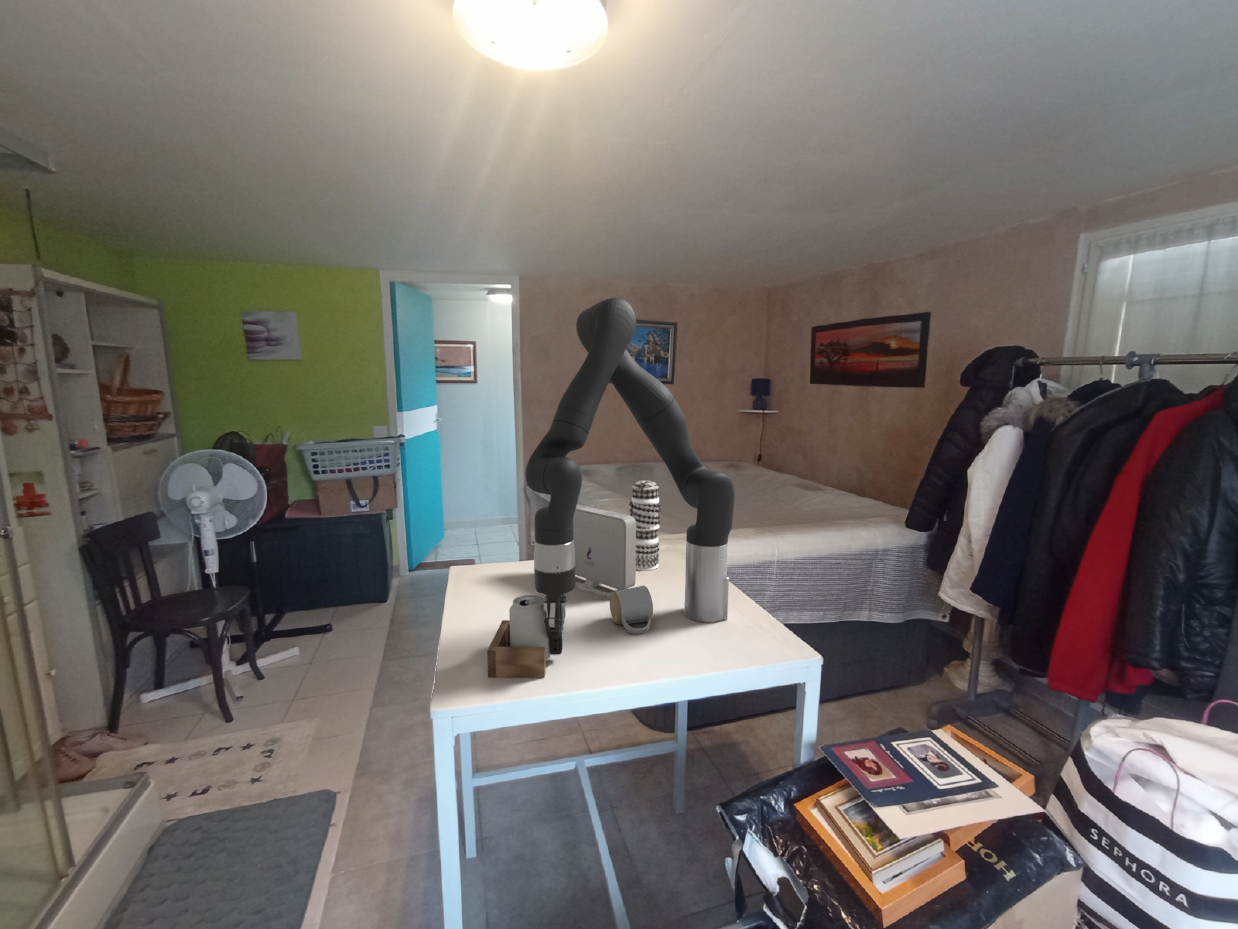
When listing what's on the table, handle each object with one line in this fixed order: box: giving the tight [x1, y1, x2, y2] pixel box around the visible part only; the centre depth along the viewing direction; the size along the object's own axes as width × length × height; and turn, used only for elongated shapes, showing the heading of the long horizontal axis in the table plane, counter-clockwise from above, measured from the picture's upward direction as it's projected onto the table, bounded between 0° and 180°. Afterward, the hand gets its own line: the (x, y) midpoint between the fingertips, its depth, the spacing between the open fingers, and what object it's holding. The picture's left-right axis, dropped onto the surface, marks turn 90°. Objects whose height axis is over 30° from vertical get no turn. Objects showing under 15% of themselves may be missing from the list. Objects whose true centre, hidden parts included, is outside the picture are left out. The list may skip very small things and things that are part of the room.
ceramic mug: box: [609, 585, 654, 635], centre depth 114 cm, size 11×8×8 cm
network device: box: [573, 504, 637, 597], centre depth 137 cm, size 26×9×20 cm, turn 48°
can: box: [508, 593, 552, 663], centre depth 98 cm, size 8×8×12 cm
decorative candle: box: [629, 479, 662, 572], centre depth 152 cm, size 9×9×25 cm
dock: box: [486, 619, 547, 679], centre depth 98 cm, size 10×12×5 cm
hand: (556, 652), depth 99 cm, fingers closed
